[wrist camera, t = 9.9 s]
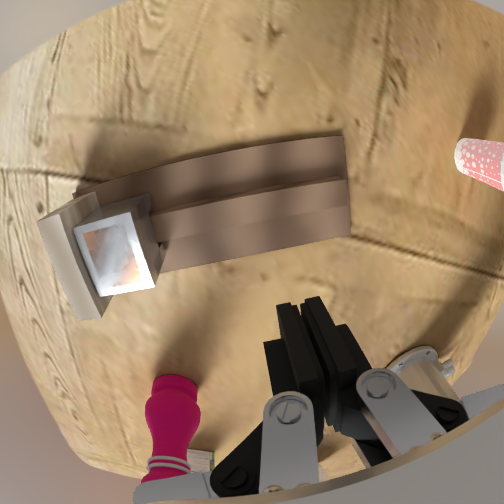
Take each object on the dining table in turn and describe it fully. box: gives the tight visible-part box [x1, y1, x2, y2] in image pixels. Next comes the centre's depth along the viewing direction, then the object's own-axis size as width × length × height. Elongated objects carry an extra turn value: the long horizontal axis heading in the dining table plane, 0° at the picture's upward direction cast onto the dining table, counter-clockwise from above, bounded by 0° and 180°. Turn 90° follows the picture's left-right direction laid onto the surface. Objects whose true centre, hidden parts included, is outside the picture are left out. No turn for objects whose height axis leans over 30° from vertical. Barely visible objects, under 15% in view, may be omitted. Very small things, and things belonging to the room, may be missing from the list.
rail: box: [37, 135, 351, 321], centre depth 23 cm, size 26×10×8 cm, turn 100°
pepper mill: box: [141, 375, 201, 483], centre depth 27 cm, size 7×7×20 cm
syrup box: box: [187, 449, 215, 473], centre depth 38 cm, size 6×6×14 cm
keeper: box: [73, 193, 166, 297], centre depth 22 cm, size 5×6×6 cm
